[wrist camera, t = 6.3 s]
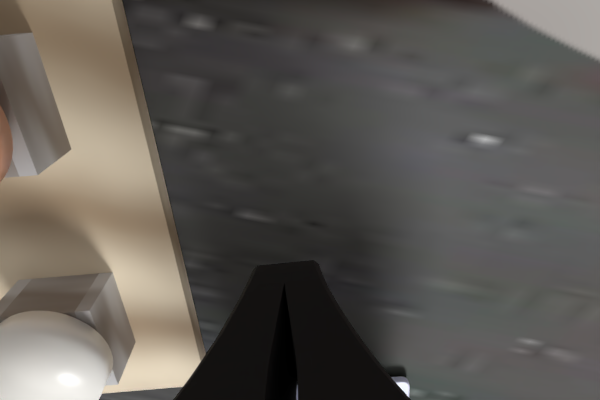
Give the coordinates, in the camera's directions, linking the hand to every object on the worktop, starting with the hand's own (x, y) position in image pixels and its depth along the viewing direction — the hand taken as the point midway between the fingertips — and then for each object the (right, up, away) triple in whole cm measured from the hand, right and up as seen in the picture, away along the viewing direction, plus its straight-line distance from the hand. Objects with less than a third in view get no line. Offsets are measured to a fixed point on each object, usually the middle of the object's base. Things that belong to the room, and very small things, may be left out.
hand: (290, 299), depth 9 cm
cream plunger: (-10, -3, +10) cm, 15 cm away
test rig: (-10, +2, +9) cm, 14 cm away
